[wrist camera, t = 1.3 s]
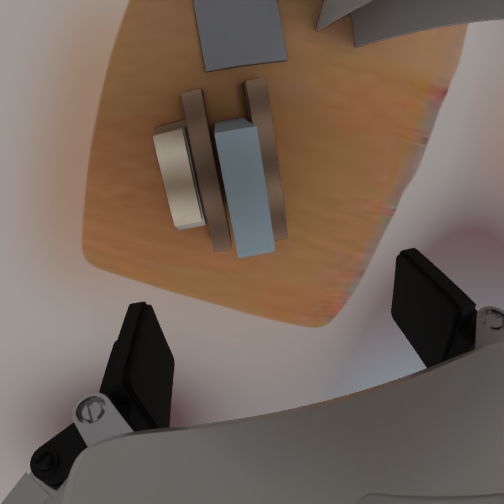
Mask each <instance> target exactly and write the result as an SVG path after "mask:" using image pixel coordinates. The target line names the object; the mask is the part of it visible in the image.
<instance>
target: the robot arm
mask: <svg viewBox="0 0 504 504" xmlns="http://www.w3.org/2000/svg"><path fill="white" fill-rule="evenodd" d="M475 306H476V304H475V303H474V302H473V301H472V300H471V299H470V298H469V297H468V296H467V295H466V294H465V293H464V292H463V291H462V290H461V289H460V288H459V287H458V286H457V285H455V284H454V283H453V282H452V281H451V280H450V279H449V278H448V277H447V276H446V275H445V274H444V273H443V272H442V271H440V270H439V269H438V268H437V267H436V266H435V265H434V264H433V263H432V262H430V261H429V260H428V259H427V258H426V257H425V256H424V255H423V254H421V253H420V252H419V251H418V250H417V249H415V248H412V249H407V250H402V251H401V252H400V254H399V255H398V256H397V258H396V269H395V281H394V290H393V299H392V308H391V314H392V317H393V319H394V321H395V322H396V323H397V325H398V326H399V328H400V329H401V331H402V332H403V333H404V335H405V336H406V338H407V339H408V340H409V342H410V344H411V345H412V346H413V348H414V349H415V351H416V352H417V354H418V355H419V357H420V358H421V360H422V361H423V363H424V364H425V366H426V367H427V368H426V369H424V370H421V371H419V372H416V373H413V374H410V375H408V376H405V377H402V378H399V379H396V380H394V381H391V382H388V383H385V384H382V385H378V386H375V387H372V388H369V389H366V390H363V391H359V392H356V393H352V394H349V395H345V396H342V397H338V398H334V399H331V400H327V401H323V402H319V403H315V404H311V405H306V406H302V407H298V408H294V409H289V410H284V411H279V412H274V413H269V414H264V415H258V416H253V417H247V418H241V419H234V420H227V421H220V422H212V423H205V424H197V425H188V426H179V427H169V424H170V409H171V397H172V386H173V374H174V358H173V355H172V353H171V350H170V348H169V346H168V344H167V341H166V339H165V337H164V334H163V332H162V330H161V327H160V325H159V322H158V320H157V318H156V315H155V313H154V310H153V308H152V306H151V305H147V304H146V303H145V302H139V303H132V304H130V305H129V307H128V310H127V313H126V316H125V319H124V322H123V325H122V328H121V331H120V334H119V337H118V340H117V341H116V342H115V343H114V345H113V348H112V352H111V354H110V358H109V361H108V364H107V367H106V370H105V374H104V377H103V381H102V384H101V387H100V391H99V393H90V394H87V395H85V396H83V397H82V398H80V399H79V400H78V401H77V403H76V404H75V405H74V408H73V410H72V418H73V421H74V423H72V424H71V425H70V426H68V427H67V428H66V429H64V430H63V431H62V432H60V433H59V434H57V435H56V436H55V437H53V438H52V439H50V440H49V441H48V442H47V443H45V444H44V445H42V446H41V447H39V448H38V449H37V450H36V451H35V452H34V454H33V456H32V458H31V462H30V468H31V473H30V474H27V473H25V474H24V475H23V477H22V478H21V479H20V480H19V482H18V483H17V484H16V485H15V487H14V488H13V489H12V490H11V492H10V493H9V494H8V496H7V497H6V498H5V499H4V501H3V502H2V503H1V504H504V310H502V309H500V308H497V307H492V306H487V307H483V308H481V309H480V310H479V311H477V310H476V309H475Z"/></svg>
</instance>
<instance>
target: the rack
mask: <svg viewBox="0 0 504 504" xmlns="http://www.w3.org/2000/svg"><path fill="white" fill-rule="evenodd" d="M243 89H244V95H245V101H246V107H247V113H248V119H249V122H250V123H252V124H254V125H256V126H257V131H258V138H259V144H260V150H261V157H262V163H263V170H264V176H265V183H266V190H267V196H268V203H269V210H270V217H271V224H272V231H273V238H274V241H278V240H283V239H288V233H287V225H286V217H285V209H284V201H283V193H282V185H281V178H280V171H279V163H278V156H277V149H276V142H275V135H274V129H273V122H272V115H271V109H270V103H269V96H268V90H267V84H266V78H261V79H253V80H246V81H245V82H243ZM181 96H182V101H183V107H184V112H185V117H186V122H187V127H188V132H189V137H190V142H191V147H192V152H193V156H194V161H195V166H196V171H197V175H198V180H199V185H200V189H201V194H202V198H203V203H204V207H205V212H206V216H207V221H208V225H209V229H210V234H211V238H212V242H213V247H214V251H215V252H220V251H225V250H230V249H232V244H231V235H230V230H229V225H228V220H227V215H226V210H225V205H224V200H223V195H222V190H221V185H220V180H219V175H218V170H217V165H216V160H215V155H214V149H213V144H212V139H211V134H210V128H209V123H208V118H207V112H206V107H205V102H204V96H203V91H202V89H201V88H200V89H196V90H191V91H186V92H182V93H181Z"/></svg>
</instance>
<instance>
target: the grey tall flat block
mask: <svg viewBox="0 0 504 504" xmlns="http://www.w3.org/2000/svg"><path fill="white" fill-rule="evenodd" d="M350 12H351V17H352V24H353V32H354V41H355V47H361V46H364V45H368V44H371V43H375V42H378V41H382V40H386V39H389V38H393V37H397V36H402V35H406V34H410V33H415V32H419V31H424V30H429V29H434V28H439V27H445V26H451V25H457V24H464V23H471V22H479V21H488V20H500V19H504V0H324V3H323V6H322V10H321V13H320V17H319V20H318V24H317V27H316V31H317V32H318V31H320V30H321V29H323V28H325V27H326V26H328V25H329V24H331V23H333V22H335V21H336V20H338V19H340V18H341V17H343V16H345V15H347V14H349V13H350Z"/></svg>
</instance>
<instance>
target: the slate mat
mask: <svg viewBox="0 0 504 504" xmlns="http://www.w3.org/2000/svg"><path fill="white" fill-rule="evenodd" d="M193 1H194V7H195V13H196V19H197V24H198V30H199V36H200V42H201V47H202V53H203V59H204V64H205V70H206V72H211V71H216V70H222V69H228V68H234V67H241V66H248V65H255V64H264V63H273V62H283V61H287V60H288V59H287V53H286V47H285V42H284V36H283V31H282V25H281V20H280V15H279V10H278V5H277V0H193Z"/></svg>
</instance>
